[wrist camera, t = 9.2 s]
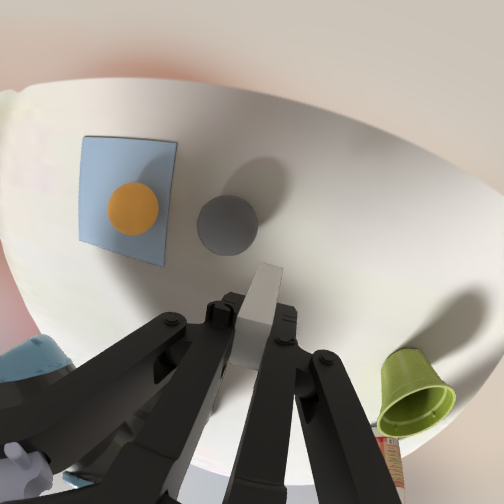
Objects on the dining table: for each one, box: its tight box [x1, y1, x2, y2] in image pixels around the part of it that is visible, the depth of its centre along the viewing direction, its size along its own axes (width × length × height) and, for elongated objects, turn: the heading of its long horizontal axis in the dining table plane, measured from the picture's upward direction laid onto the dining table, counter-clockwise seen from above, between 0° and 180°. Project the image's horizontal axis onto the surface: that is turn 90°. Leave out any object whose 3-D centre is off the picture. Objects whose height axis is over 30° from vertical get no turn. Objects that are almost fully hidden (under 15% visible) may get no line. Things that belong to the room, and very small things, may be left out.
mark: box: [79, 137, 177, 267], centre depth 30 cm, size 14×14×1 cm
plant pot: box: [377, 348, 456, 438], centre depth 26 cm, size 9×9×9 cm
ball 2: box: [197, 196, 258, 256], centre depth 25 cm, size 6×6×6 cm
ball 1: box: [108, 182, 158, 235], centre depth 27 cm, size 6×6×6 cm
